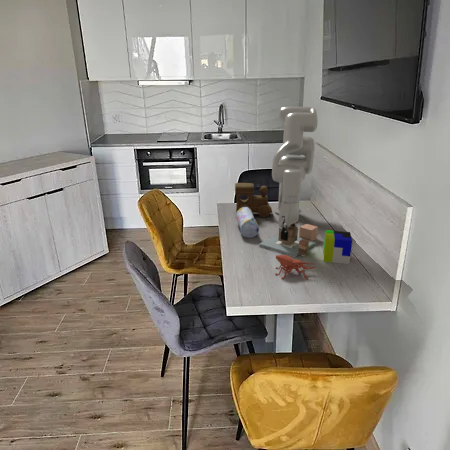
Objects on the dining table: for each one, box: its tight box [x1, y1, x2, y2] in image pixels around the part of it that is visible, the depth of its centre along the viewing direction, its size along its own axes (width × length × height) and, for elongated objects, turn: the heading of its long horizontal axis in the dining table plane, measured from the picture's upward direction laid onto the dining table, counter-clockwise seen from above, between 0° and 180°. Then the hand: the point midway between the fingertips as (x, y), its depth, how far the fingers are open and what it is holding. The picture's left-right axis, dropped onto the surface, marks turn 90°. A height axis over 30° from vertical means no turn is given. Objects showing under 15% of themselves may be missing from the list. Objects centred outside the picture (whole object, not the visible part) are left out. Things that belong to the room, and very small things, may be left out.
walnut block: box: [278, 225, 299, 244], centre depth 175 cm, size 6×6×6 cm
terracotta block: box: [298, 223, 319, 242], centre depth 184 cm, size 6×6×6 cm
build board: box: [258, 233, 317, 258], centre depth 177 cm, size 18×18×1 cm
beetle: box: [275, 241, 316, 280], centre depth 150 cm, size 15×12×13 cm
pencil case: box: [235, 207, 260, 238], centre depth 193 cm, size 21×9×10 cm, turn 6°
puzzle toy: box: [322, 229, 353, 265], centre depth 164 cm, size 10×10×10 cm
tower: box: [298, 239, 310, 257], centre depth 167 cm, size 3×3×6 cm
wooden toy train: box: [234, 182, 273, 218], centre depth 215 cm, size 20×11×17 cm, turn 89°
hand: (288, 237), depth 176 cm, fingers closed on walnut block, 6 cm apart
